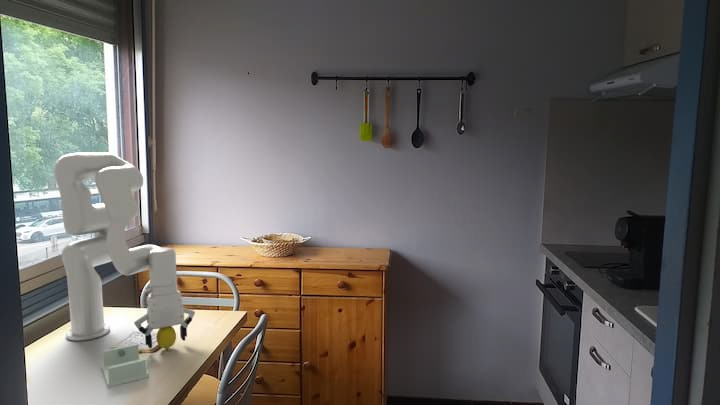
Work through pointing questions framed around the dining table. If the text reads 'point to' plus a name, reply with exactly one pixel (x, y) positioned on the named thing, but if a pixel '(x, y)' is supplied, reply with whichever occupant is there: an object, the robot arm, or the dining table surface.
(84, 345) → the dining table surface
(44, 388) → the dining table surface
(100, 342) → the dining table surface
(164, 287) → the robot arm
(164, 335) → the lemon
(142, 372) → the holder
